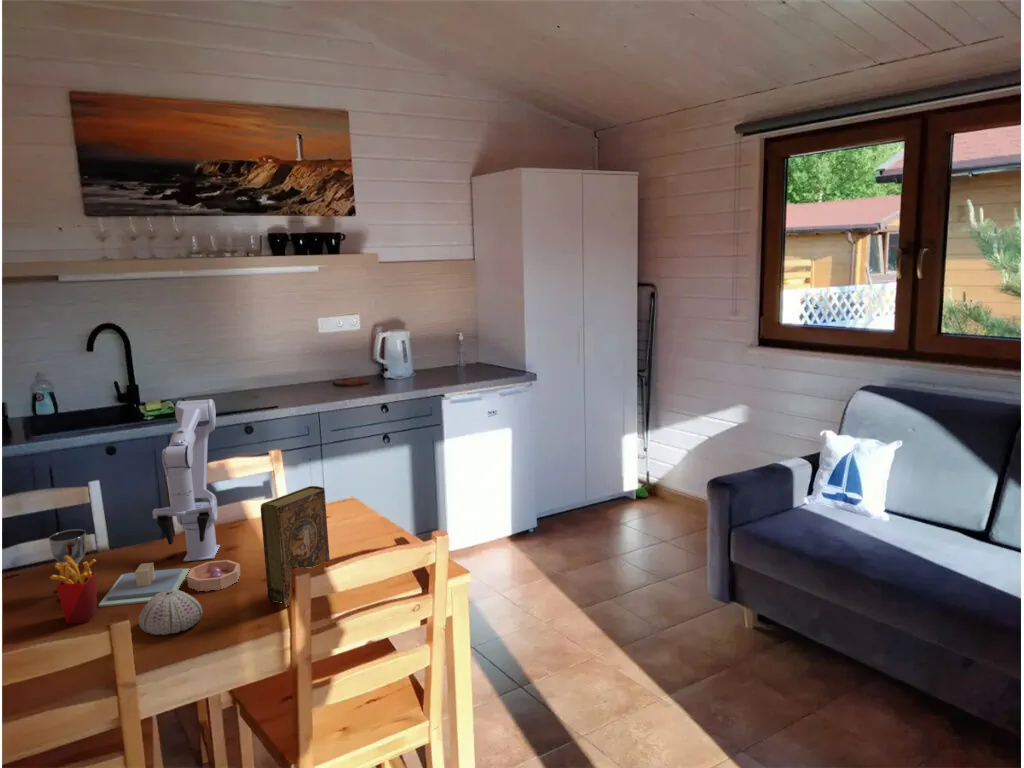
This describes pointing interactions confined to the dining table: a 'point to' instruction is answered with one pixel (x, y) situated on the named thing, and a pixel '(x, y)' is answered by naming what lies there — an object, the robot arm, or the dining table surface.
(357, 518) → the dining table surface
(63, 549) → the silver goblet
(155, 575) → the lid
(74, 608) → the french fries
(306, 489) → the book
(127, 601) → the mat
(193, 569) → the bowl
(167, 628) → the sea urchin shell
